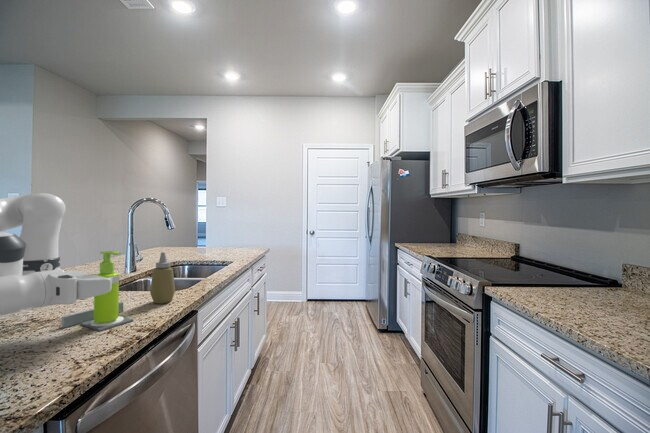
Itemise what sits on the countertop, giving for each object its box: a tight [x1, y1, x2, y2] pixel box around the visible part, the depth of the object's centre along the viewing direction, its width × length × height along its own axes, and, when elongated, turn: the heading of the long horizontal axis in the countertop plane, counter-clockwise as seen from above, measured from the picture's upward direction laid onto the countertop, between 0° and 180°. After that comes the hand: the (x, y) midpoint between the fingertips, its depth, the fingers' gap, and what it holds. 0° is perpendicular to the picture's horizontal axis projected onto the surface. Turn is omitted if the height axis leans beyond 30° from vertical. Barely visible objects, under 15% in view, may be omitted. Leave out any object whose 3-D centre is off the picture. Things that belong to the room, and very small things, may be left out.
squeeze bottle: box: [149, 251, 176, 305], centre depth 110 cm, size 8×8×18 cm
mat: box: [80, 315, 134, 332], centre depth 89 cm, size 10×9×1 cm
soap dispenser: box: [93, 250, 122, 322], centre depth 89 cm, size 6×7×20 cm
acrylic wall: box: [61, 301, 124, 329], centre depth 93 cm, size 1×16×3 cm, turn 153°
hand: (110, 277), depth 90 cm, fingers closed on soap dispenser, 6 cm apart
